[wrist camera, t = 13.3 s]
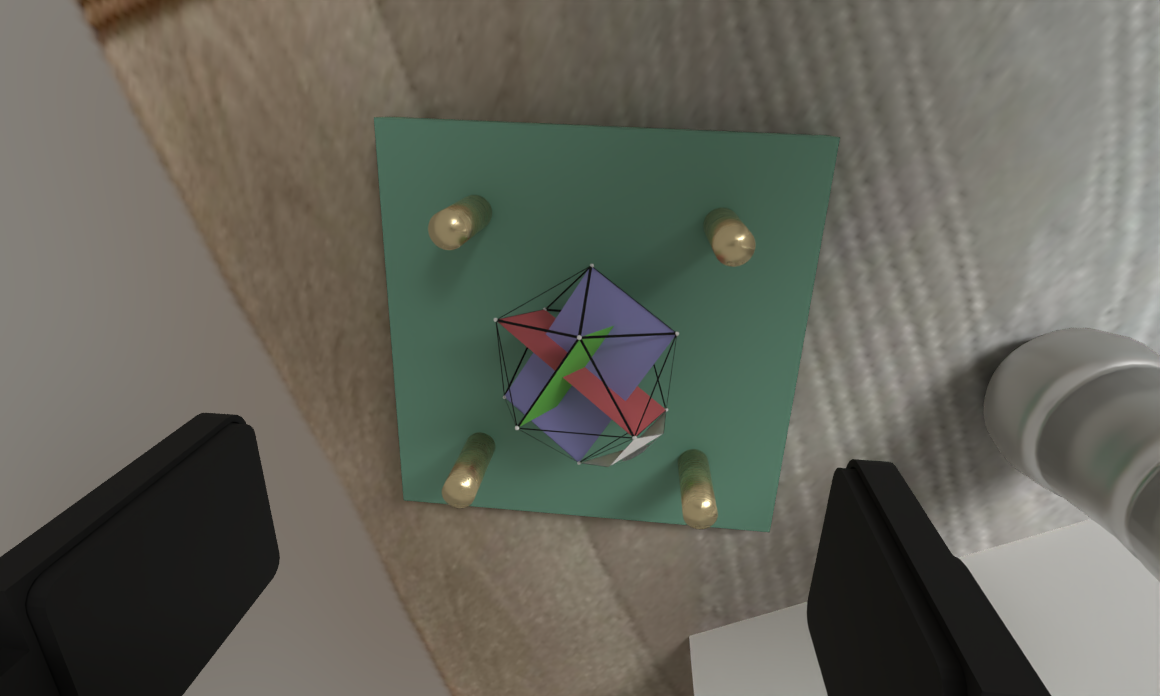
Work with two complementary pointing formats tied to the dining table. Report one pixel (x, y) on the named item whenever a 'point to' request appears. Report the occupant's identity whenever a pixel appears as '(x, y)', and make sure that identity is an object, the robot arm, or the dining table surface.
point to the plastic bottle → (1086, 428)
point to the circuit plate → (631, 261)
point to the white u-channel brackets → (1023, 602)
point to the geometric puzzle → (589, 369)
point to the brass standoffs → (469, 469)
